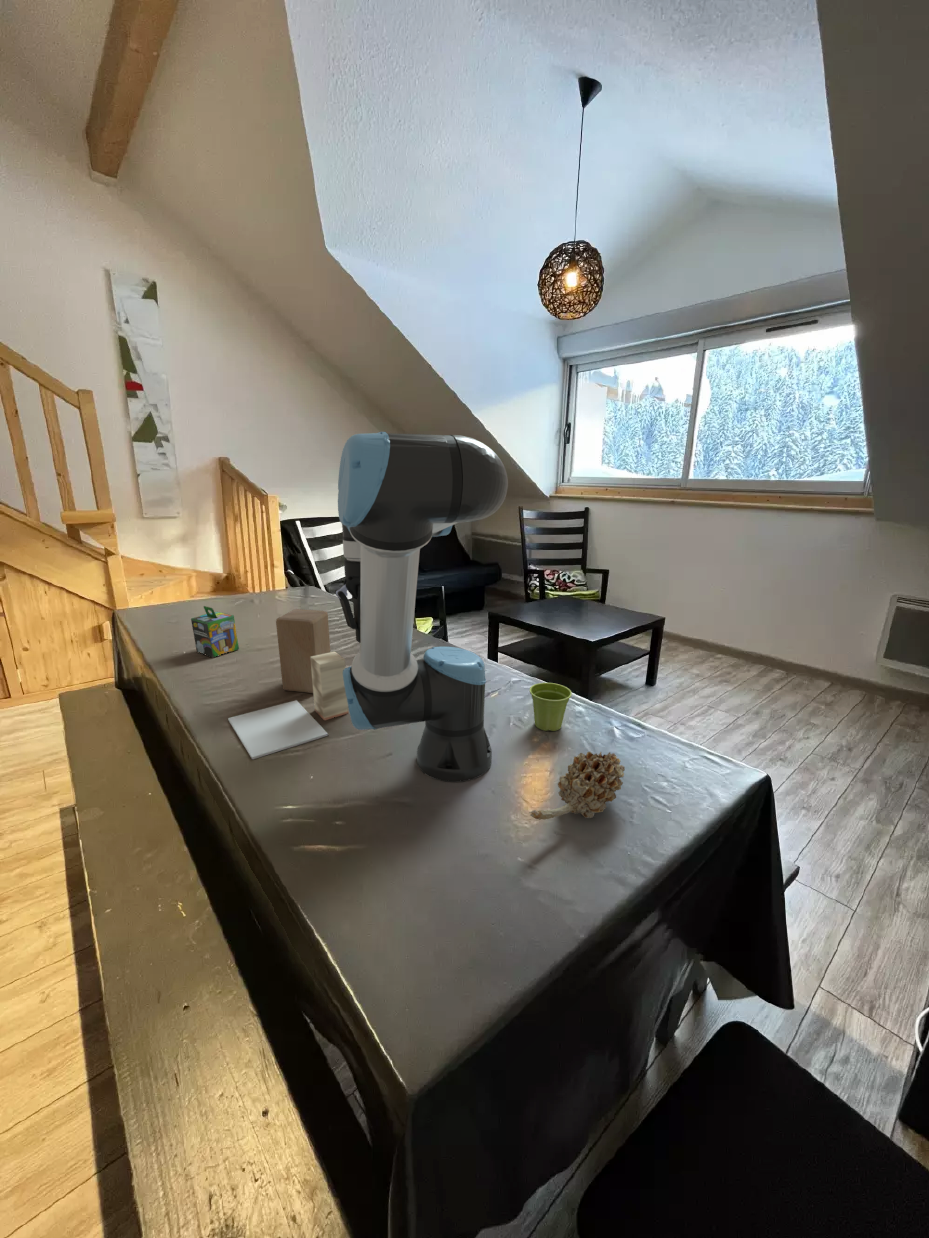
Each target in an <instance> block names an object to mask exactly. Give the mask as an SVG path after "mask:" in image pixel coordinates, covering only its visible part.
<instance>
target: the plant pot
mask: <svg viewBox="0 0 929 1238" xmlns="http://www.w3.org/2000/svg"><path fill="white" fill-rule="evenodd" d="M572 692H573V691H572V690H571V689H570V688H568V687H567V686H565V685H562V684H558V683H553V682H539V683H535V684H533V685H531V686H530V688H529V693H530V695H531V699H532V705H533V718H534V725H535V727H536V728H537V729H539V730H542V731H545V732H547V731H552V732H556V731H558V730H560V729H561V728H562V726H563V721H564V717H565V713H566V708H567V705H568V703H569V701H570V699H571V697H572Z"/></svg>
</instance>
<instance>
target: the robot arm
mask: <svg viewBox="0 0 929 1238" xmlns="http://www.w3.org/2000/svg"><path fill="white" fill-rule="evenodd" d="M337 480H338V482H337V484H338V486H337V489H338V493H337V514H338V519H339V522H340V523H341V527H342V547H343V548H342V550H343V557H344V558H345V559H344V560H343V564H344V565H343V567H344V577H345V578H344V581H343V585H342V586H341V587H340V588H339V589H335V590H334V594H335V596H337V599H338V600H339V603H340V606H341V609H342V612H343V615H344V618H345V621H346V624H347V625H346V626H348V628H351V629H352V630H355V640H356V642H357V643H359V651H358V652H357V653H356V654H355V656H354V658H353V660H352V662H351V665H350V666H348V667H346V668H345V669H344V670H343V680H344V686H345V692H346V697H347V702H348V714H349V717H350V722H351V724H352V726H353V727H354V728H355V729H356V730H359V731H360V730H361V731H363V730H378V729H383V728H390V727H397V726H403V725H408V724H409V725H411V724H415V723H416V724H417V723H421V722H423V723H424V722H425V723H424V724H425V725H424V729H423V732H422V735H421V739H420V742H419V744H418V746H417V749H416V764H417V766H418V768H419V770H420V771H422V772H423V774H425V775H426V776H428V777H430V778H432V779H434V780H438V781H441V782H450V783H455V782H456V783H458V782H466V781H471V780H473V779H476V778H479V777H480V776H483V775H484V774H485V773H486V772H488V771H489V769H490V768H491V765H492V758H493V756H492V755H493V753H492V752H493V750H492V746H491V744H490V740H489V737H488V735H487V731H486V729H485V701H486V700H485V699H486V698H485V696H486V693H485V692H486V683H487V678H486V670H485V667H486V666H485V663H484V660H483V659H482V658H481V656H479V655H478V654H476V653H474V652H473V651H470V650H468V649H464V648H461V647H455V646H441V645H440V646H433V647H432V648H428V649H427V650H426V651H425V652H424V655H423V659H418V660H417V659H416V657H415V656H414V655H413V653H412V643H413V641H412V640H413V633H414V631H413V630H414V619H415V610H416V609H415V608H416V597H417V587H418V575H419V565H420V564H419V563H420V553H421V552H420V551H421V549H422V548H423V547H424V546H426V545H428V543H429V542H430V541H431V539H432V538H435V537H436V538H437V537H441V536H442V537H443V536H447V535H450V533H451V531H452V528H453V526H454V525H456V524H458V523H466V522H468V523H469V522H470V523H471V522H472V523H473V522H479V521H481V520H484V519H487V518H488V517H490V516H492V515H493V514H495V513H496V512H497V511H498V510H499V509H500V508H501V507H502V505H503V503H504V502H505V500H506V496H507V492H508V488H509V479H508V473H507V470H506V467H505V465H504V463H503V462H502V460H501V458H500V457H499V456H498V454H497V453H496V452H495V451H494V450H493V449H492V448H491V447H489V446H488V445H486V444H485V443H483V442H482V441H479V440H477V439H475V438H473V437H469V436H464V435H460V434H459V435H458V434H449V435H445V434H424V433H423V434H421V433H418V434H417V433H415V434H414V433H391V432H390V433H387V432H386V431H379V432H373V433H355V434H353V435H351V436H350V437H349V438H348V439H347V440H346V441H345V443H344V445H343V448H342V451H341V456H340V462H339V470H338V478H337ZM348 593H349V594H350V595H351V600H352V605H353V607H351V604H350V601H349V598H348ZM352 608H353V610H352Z"/></svg>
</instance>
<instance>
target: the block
mask: <svg viewBox="0 0 929 1238" xmlns="http://www.w3.org/2000/svg"><path fill="white" fill-rule="evenodd" d="M275 624H276V634H277V635H276V636H277V642H278V644H277V645H278V652H279V653H278V655H279V656H278V657H279V663H280V674H281V682H282V683H281V685H282V688H283V690H285V691H290V692H298V693H299V692H300V693H309V694H313V683H312V671H311V659H310V657H311V656H316V655H321V654H325V653H330V652H331V639H330V628H329V627H330V626H329V624H330V623H329V614H328V611H325V610H317V609H315V610H314V609H302V608H295V609H292V610H291V611H289V612H286V613H284V614H283V615H281V616H279V617H277V618H276V620H275Z"/></svg>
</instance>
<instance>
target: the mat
mask: <svg viewBox="0 0 929 1238" xmlns="http://www.w3.org/2000/svg"><path fill="white" fill-rule="evenodd" d="M227 719H228V722H229V724H230V726H231V727H232V729H233V731H234V733H236V735H237V737H238V738H239V740H240V742H241V744H242V745H243V746H244V748H245V750H246V751H247V753H248V755H249V757H250V758H251V760H256V759H258V758H261V757H264V756H267V755H270V754H275V753H277V752H280V751H283V750H286V749H291V748H293V747H297V746H300V745H302V744H303V745H304V744H306V743H308V742H312V741H315V740H318V739H322V738H324V737H328V736H329V733H328V732H327V731H326V730H325V728H323V727H322V725H320V723H319V722H318V721H317V720H316V719H314V717H313V716H312V715H311V714H310V713H309V712H308V711H307V710H306V709H305V707H304V706H302V704H301V703H300V702H299V701H298V700H297V699H295V700H291V701H289V702H284V703H280V704H277V705H273V706H269V707H266V708H262V709H261V708H260V709H258V710H253V711H250V712H246V713H244V714H243V713H242V714H239V715H235V716H232V717H228V718H227Z"/></svg>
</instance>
